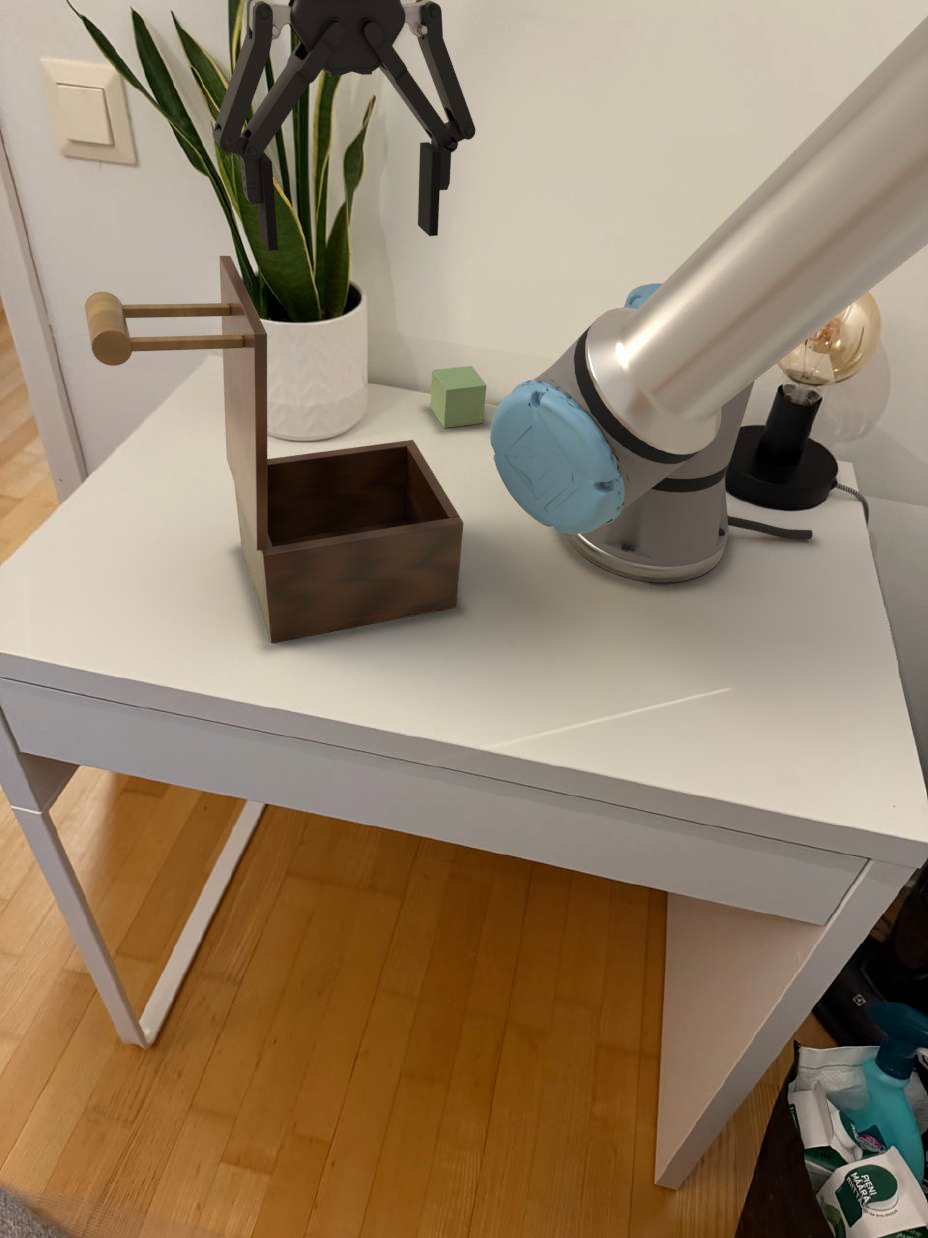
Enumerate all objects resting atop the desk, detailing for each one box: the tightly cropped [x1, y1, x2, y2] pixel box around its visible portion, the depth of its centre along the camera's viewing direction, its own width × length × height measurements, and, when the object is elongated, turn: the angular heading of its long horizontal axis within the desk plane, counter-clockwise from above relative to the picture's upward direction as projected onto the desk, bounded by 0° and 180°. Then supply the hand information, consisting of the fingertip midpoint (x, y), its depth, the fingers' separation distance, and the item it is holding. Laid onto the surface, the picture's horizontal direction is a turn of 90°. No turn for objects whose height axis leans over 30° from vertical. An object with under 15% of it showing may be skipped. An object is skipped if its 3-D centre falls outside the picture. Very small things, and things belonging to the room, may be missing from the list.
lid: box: [84, 255, 268, 551], centre depth 66 cm, size 17×13×10 cm
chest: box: [233, 439, 464, 644], centre depth 78 cm, size 16×13×9 cm
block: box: [429, 365, 488, 429], centre depth 102 cm, size 5×5×5 cm
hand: (350, 237), depth 77 cm, fingers open, 13 cm apart
